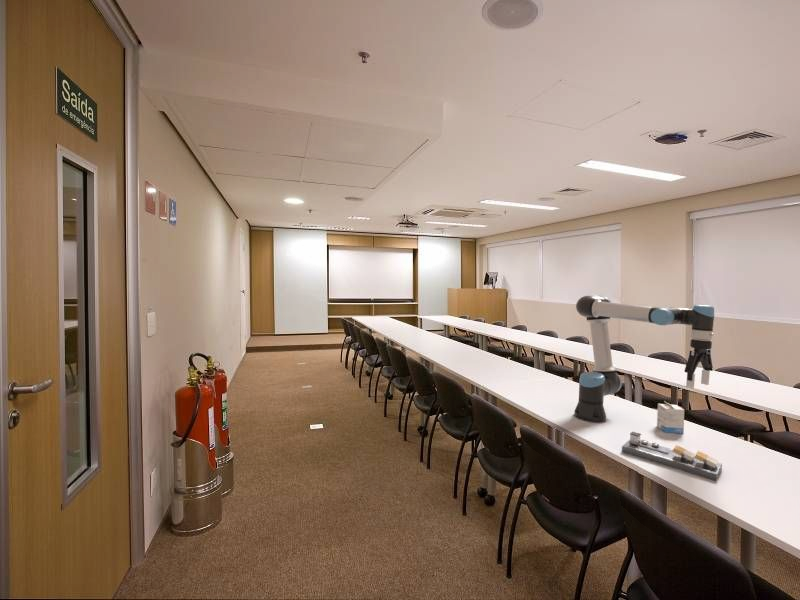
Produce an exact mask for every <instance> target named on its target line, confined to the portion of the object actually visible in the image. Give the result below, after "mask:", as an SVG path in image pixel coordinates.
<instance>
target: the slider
mask: <svg viewBox="0 0 800 600" xmlns="http://www.w3.org/2000/svg"><path fill="white" fill-rule="evenodd" d="M629 434H630V435H629V437H630V438H629V440H630V443H632V444H636V445H639V444H640V440H641V435H642V433H641V432H635V431H631V432H630V433H629Z"/></svg>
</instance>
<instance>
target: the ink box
mask: <svg viewBox="0 0 800 600" xmlns="http://www.w3.org/2000/svg"><path fill="white" fill-rule="evenodd" d="M663 402H664V403H657V416H656V417H657V418H656V427H657V428H659V429H660V430H661V431H663V432H664V433H669V434H684V432H685V431H684V427H685V409H684V408H682V407H680V406H679V405H677V404H672V403H671V404H670V403H669V402H666V401H665V400H664V401H663Z"/></svg>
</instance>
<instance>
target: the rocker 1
mask: <svg viewBox="0 0 800 600" xmlns="http://www.w3.org/2000/svg"><path fill="white" fill-rule="evenodd" d="M672 449H673V452H675V453H676V454H678V455H680V456H682V457H684V458H686V459H688V460H690V461H692V460H693V458H694V456H695V455H696V453H694V452H692V451H690V450H688V449H685V448H684V447H682V446H681V445H678V444H676V445H675V446H674V448H672Z"/></svg>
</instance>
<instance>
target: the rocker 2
mask: <svg viewBox="0 0 800 600" xmlns="http://www.w3.org/2000/svg"><path fill="white" fill-rule="evenodd" d="M695 458H696V459H698V460H700V461H702V462H704V463H706V464H708V465H710V466H712V467H714V468H715V467H716V465H717V463H718V462H719V460H718V459H716V458H714V457H712V456H710V455H708V454H706V453H704V452H702V451H699V450H698V451H697V452H696V453H695Z"/></svg>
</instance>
